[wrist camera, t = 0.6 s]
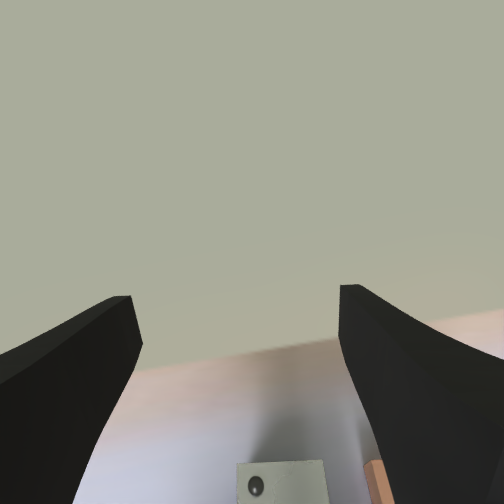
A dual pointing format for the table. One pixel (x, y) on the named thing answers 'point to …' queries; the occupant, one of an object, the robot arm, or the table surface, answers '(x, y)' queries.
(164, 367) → the table surface
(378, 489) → the stand
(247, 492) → the block
